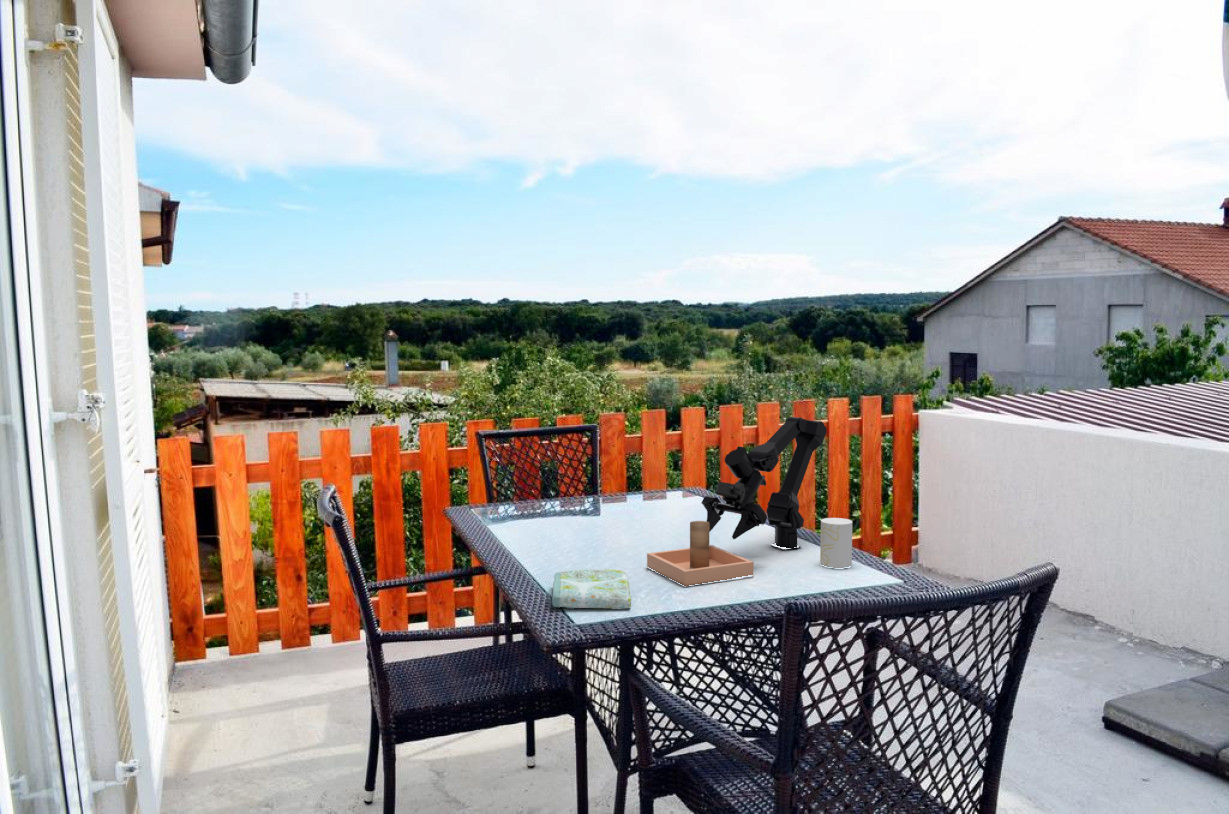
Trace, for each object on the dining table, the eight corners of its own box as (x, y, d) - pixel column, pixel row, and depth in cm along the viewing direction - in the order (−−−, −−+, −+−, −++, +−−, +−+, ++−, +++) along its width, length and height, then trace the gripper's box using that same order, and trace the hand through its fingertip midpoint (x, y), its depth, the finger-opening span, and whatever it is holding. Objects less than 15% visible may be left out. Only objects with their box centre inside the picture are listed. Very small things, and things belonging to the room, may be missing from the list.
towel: (628, 585, 232) (628, 565, 232) (631, 612, 211) (631, 590, 211) (555, 586, 232) (555, 566, 232) (550, 613, 211) (550, 591, 211)
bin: (647, 568, 247) (647, 553, 247) (711, 559, 256) (712, 545, 255) (685, 587, 229) (685, 571, 229) (753, 577, 238) (753, 561, 237)
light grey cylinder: (814, 563, 251) (814, 519, 250) (840, 560, 254) (840, 516, 253) (831, 570, 244) (832, 525, 242) (857, 567, 246) (858, 522, 245)
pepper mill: (691, 567, 246) (691, 520, 244) (711, 568, 244) (711, 521, 243) (687, 572, 241) (688, 524, 239) (708, 573, 239) (708, 525, 238)
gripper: (705, 466, 256) (678, 512, 249) (760, 474, 242) (733, 523, 236) (724, 491, 262) (698, 536, 256) (778, 500, 249) (752, 548, 242)
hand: (719, 535), depth 247 cm, fingers open, 9 cm apart
